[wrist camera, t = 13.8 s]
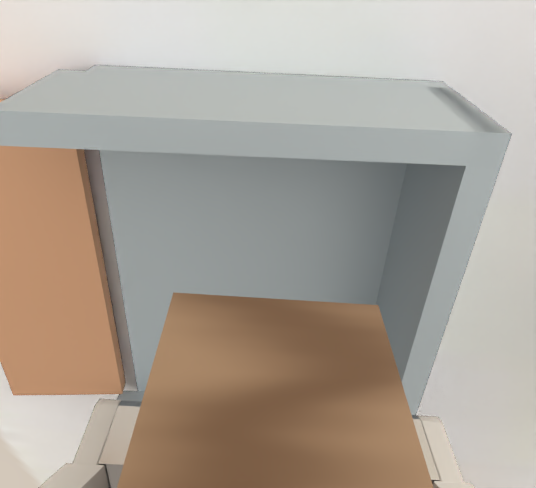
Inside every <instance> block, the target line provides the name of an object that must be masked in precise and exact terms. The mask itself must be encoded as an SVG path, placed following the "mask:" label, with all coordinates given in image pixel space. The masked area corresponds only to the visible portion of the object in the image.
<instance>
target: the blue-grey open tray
mask: <svg viewBox="0 0 536 488" xmlns="http://www.w3.org/2000/svg"><path fill="white" fill-rule="evenodd" d="M511 135H512V133H510V132H509V131H508V130H506V129H505V128H504V127H502V126H501V125H500V124H498V123H497V122H496V121H494V120H493V119H492V118H490V117H489V116H488V115H486V114H485V113H484V112H482V111H481V110H480V109H479V108H477V107H476V106H475V105H473V104H472V103H471V102H469V101H468V100H467V99H465V98H464V97H463V96H461V95H460V94H459V93H457V92H456V91H455V90H453V89H452V88H451V87H449V86H448V85H447V84H445V83H444V82H443V81H423V80H401V79H380V78H359V77H338V76H317V75H296V74H275V73H254V72H233V71H212V70H191V69H170V68H149V67H128V66H107V65H94V66H93V67H91V68H90V69H88V70H87V71H81V70H60V69H58V70H57V71H55V72H53V73H51V74H49V75H48V76H46V77H44V78H42V79H41V80H39V81H37V82H35V83H34V84H32V85H30V86H28V87H26V88H25V89H23V90H21V91H19V92H18V93H16V94H14V95H12V96H11V97H9V98H7V99H5V100H3V101H2V102H0V146H20V147H43V148H66V149H89V150H99V152H100V159H101V165H102V171H103V177H104V184H105V190H106V196H107V202H108V208H109V215H110V221H111V227H112V233H113V239H114V246H115V252H116V258H117V264H118V271H119V277H120V283H121V289H122V295H123V302H124V308H125V314H126V320H127V327H128V333H129V339H130V345H131V351H132V358H133V364H134V370H135V376H136V383H137V389H138V391H123V394H119V395H118V398H117V400H127V401H141V402H142V399H143V396H144V392H145V389H146V385H147V382H148V378H149V375H150V372H151V368H152V365H153V361H154V358H155V354H156V351H157V347H158V344H159V340H160V337H161V333H162V330H163V327H164V323H165V320H166V316H167V313H168V309H169V306H170V302H171V299H172V295H173V292H174V293H190V294H207V295H223V296H239V297H255V298H272V299H288V300H304V301H320V302H336V303H353V304H369V305H378V306H379V309H380V312H381V316H382V319H383V322H384V325H385V329H386V332H387V335H388V339H389V342H390V345H391V349H392V352H393V355H394V359H395V362H396V365H397V369H398V372H399V375H400V379H401V382H402V385H403V388H404V392H405V395H406V398H407V402H408V405H409V408H410V412H411V415H416V413H417V410H418V407H419V404H420V401H421V399H422V396H423V393H424V390H425V387H426V384H427V381H428V378H429V375H430V372H431V369H432V366H433V363H434V360H435V358H436V355H437V352H438V349H439V346H440V343H441V340H442V337H443V334H444V331H445V328H446V325H447V322H448V319H449V316H450V314H451V311H452V308H453V305H454V302H455V299H456V296H457V293H458V290H459V287H460V284H461V281H462V278H463V275H464V273H465V270H466V267H467V264H468V261H469V258H470V255H471V252H472V249H473V246H474V243H475V240H476V237H477V234H478V231H479V229H480V226H481V223H482V220H483V217H484V214H485V211H486V208H487V205H488V202H489V199H490V196H491V193H492V190H493V187H494V185H495V182H496V179H497V176H498V173H499V170H500V167H501V164H502V161H503V158H504V155H505V152H506V149H507V146H508V144H509V141H510V138H511Z"/></svg>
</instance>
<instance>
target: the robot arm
mask: <svg viewBox="0 0 536 488" xmlns="http://www.w3.org/2000/svg"><path fill="white" fill-rule="evenodd" d="M141 403H142V402H141V401H127V400H114V399H99V401H98V402H97V404H96V405H95V407H94V410H93V412H92V415H91V417H90V420H89V423H88V425H87V428H86V430H85V433H84V435H83V438H82V440H81V443H80V445H79V448H78V451H77V453H76V456H75V458H74V461H73V463H66V464H65V465H63V466H62V467H61V468H60V469H59V470H58V471H57V472H55V473H54V474H53V475H52V476H51V477H50V478H49V479H48V480H46V481H45V482H44V483H43V484H42V485H41V486H40V487H38V488H117V486H118V482H119V479H120V475H121V472H122V468H123V465H124V461H125V458H126V454H127V451H128V448H129V444H130V441H131V437H132V434H133V430H134V427H135V423H136V420H137V416H138V413H139V410H140V406H141ZM412 418H413V422H414V425H415V428H416V432H417V435H418V438H419V442H420V445H421V448H422V451H423V455H424V458H425V461H426V465H427V468H428V471H429V475H430V478H431V481H432V485H433V488H475V487H474V486H473V485H472V484H471V483H467V482H464V480H463V477H462V475H461V472H460V469H459V466H458V464H457V461H456V458H455V456H454V453H453V450H452V447H451V445H450V442H449V439H448V437H447V434H446V431H445V428H444V426H443V423H442V421H441V420H440V418H439V417H436V416H416V415H412Z"/></svg>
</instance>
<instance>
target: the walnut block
mask: <svg viewBox="0 0 536 488" xmlns="http://www.w3.org/2000/svg"><path fill="white" fill-rule="evenodd" d="M117 488H433V485H432V481H431V478H430V475H429V471H428V468H427V465H426V461H425V458H424V455H423V451H422V448H421V445H420V442H419V438H418V435H417V432H416V428H415V425H414V422H413V418H412V415H411V412H410V408H409V405H408V402H407V398H406V395H405V392H404V388H403V385H402V382H401V379H400V375H399V372H398V369H397V365H396V362H395V359H394V355H393V352H392V349H391V345H390V342H389V339H388V335H387V332H386V329H385V325H384V322H383V319H382V316H381V312H380V309H379V306H378V305H369V304H353V303H336V302H320V301H304V300H288V299H272V298H255V297H239V296H223V295H207V294H190V293H174V292H173V295H172V299H171V302H170V306H169V309H168V313H167V316H166V320H165V323H164V327H163V330H162V333H161V337H160V340H159V344H158V347H157V351H156V354H155V358H154V361H153V365H152V368H151V372H150V375H149V378H148V382H147V385H146V389H145V392H144V396H143V399H142V403H141V406H140V410H139V413H138V416H137V420H136V423H135V427H134V430H133V434H132V437H131V441H130V444H129V448H128V451H127V454H126V458H125V461H124V465H123V468H122V472H121V475H120V479H119V482H118V486H117Z"/></svg>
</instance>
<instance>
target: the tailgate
mask: <svg viewBox="0 0 536 488" xmlns="http://www.w3.org/2000/svg"><path fill="white" fill-rule="evenodd" d="M3 100H5V99H0V102H2V101H3ZM0 362H1V364H2V367H3V369H4V372H5V375H6V377H7V380H8V382H9V385H10V388H11V390H12V393H13V395H77V394H123V390H124V386H125V376H124V371H123V365H122V360H121V354H120V348H119V343H118V337H117V332H116V326H115V321H114V315H113V309H112V304H111V298H110V293H109V287H108V282H107V276H106V270H105V265H104V259H103V254H102V248H101V243H100V237H99V232H98V226H97V220H96V215H95V209H94V204H93V198H92V193H91V187H90V181H89V176H88V170H87V165H86V159H85V154H84V149H66V148H43V147H20V146H0Z"/></svg>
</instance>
